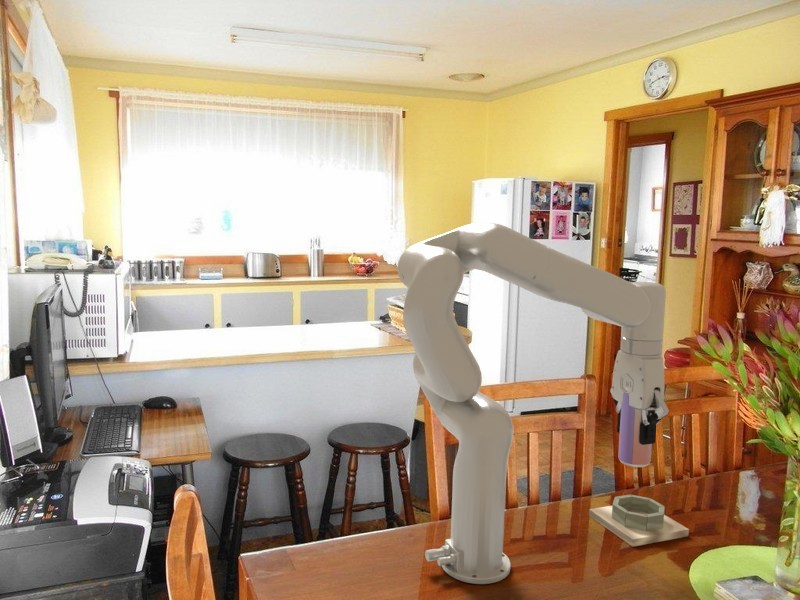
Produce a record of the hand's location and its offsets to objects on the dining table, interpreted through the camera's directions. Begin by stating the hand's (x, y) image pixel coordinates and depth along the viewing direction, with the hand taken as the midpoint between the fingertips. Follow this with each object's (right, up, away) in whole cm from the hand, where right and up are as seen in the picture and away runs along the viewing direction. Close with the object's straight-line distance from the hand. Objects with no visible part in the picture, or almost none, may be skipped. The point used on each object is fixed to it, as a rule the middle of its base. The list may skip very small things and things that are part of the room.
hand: (635, 437), depth 127 cm
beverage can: (0, -5, +1) cm, 5 cm away
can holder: (+4, -21, +11) cm, 24 cm away
